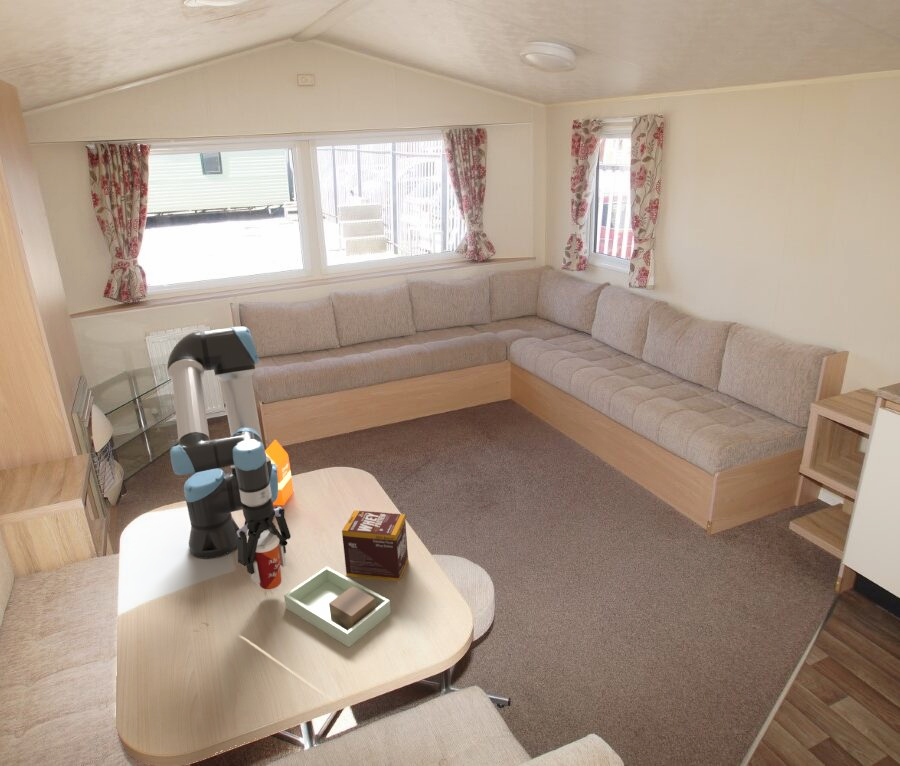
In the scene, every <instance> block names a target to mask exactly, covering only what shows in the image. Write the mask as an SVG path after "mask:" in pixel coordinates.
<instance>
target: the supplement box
mask: <svg viewBox="0 0 900 766" xmlns="http://www.w3.org/2000/svg"><path fill="white" fill-rule="evenodd" d="M341 535H342V544H343V554H344V564H345V572H346V573H345V574H346V576H345V577H349V578H350V577H352V578H360V579H361V578H362V579H373V580H380V581H381V580H383V581H390V582H391V581H392V582H400V580H401V577H403V575H404V572H405V570H406V567H407V565H408V562H409V553H408V539H407V538H408V536H407V523H406V514H405V513H392V512H381V511H379V512H378V511H370V510H369V511H368V510H367V511H366V510H354V511H353V513H352V514H351V515H350V517H349V519H348V521H347V522H346V524H345V525H344V527H343V528H342V530H341Z"/></svg>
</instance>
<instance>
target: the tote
mask: <svg viewBox="0 0 900 766" xmlns="http://www.w3.org/2000/svg"><path fill="white" fill-rule="evenodd" d="M352 586H353V587H355V588H357V589H359V590H361V591H363V592H364V593H366V594H368V595H370V596H372V597H374V598H375V605H376V609H374V610H373V611H372V612H370V613H369V614H368V615H367V616H365V617H364V618H363V619H362V620H360V621H359V622H358V623H357V624H355V625H354V626H353V627H352V628H350V629H349V630H348V631H347V630H346V629H344V628H342V627H341V626H339V625H337V624H336V623H334V622H332V621H331V614H330V607H329V603H330V602H331V601H333V600H334V599H335V598H337V597H338V596H340V595H341V594H342V593H344V592H345V591H346V590H348V589H349V588H350V587H352ZM283 598H284V603H285V609H287V610H288V611H290V612H292V613H293V614H295V615H297V616H298V617H299V618H301V619H303V620H304V621H306V622H307V623H309V624H310V625H312V626H314V627H316V628H317V629H319V630H321V631H322V632H324V633H325V634H327V635H329V636H330V637H332V638H334V639H335V640H336V641H338V642H340V643H341V644H343V645H345V646H346V647H347V648H350V647H352V646H353V645H354V644H355V643H357V642H358V641H359V640H360V639H361V638H362V637H364V636H365V635H366V634H368V633H369V632H370V631H371V630H372V629H374V627H376V626H377V625H379V624H380V623H381V622H382V621H384V619H386V618H387V617H388V616H389V615H391V613H392V611H391V600H390V599H388V598H386V597H385V596H383V595H381V594H379V593H377V592H375V591H373V590H371V589H370V588H368V587H366V586H364V585H362V584H361V583H358V582H357V581H355V580H353V579H351V578H350V577H348V576H345V575H343V574H342V573H340V572H338V571H336V570H334V569H332V568H330V567H329V566H325V567H324V568H322V569H320V571H318V572H316V573H315V574H313V575H312V576H310V577H309V578H308V579H306V580H304V581H303V582H301V583H300V584H299V585H297V586H295V587H294V588H292V589H291V590H290V591H288V592H287V593H285V594H284V595H283Z"/></svg>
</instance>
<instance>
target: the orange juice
mask: <svg viewBox="0 0 900 766" xmlns="http://www.w3.org/2000/svg"><path fill="white" fill-rule="evenodd" d="M265 453H266V456H268V457H269V458H270V459H271V464H272V463H274V464H276V465H277V474H278V498H277V500H276V501H275V502H273V506H285V504H286V503H287V501H288V500H289V499H290V498H291V496H292V495H293V493H294V487H293V486H294V485H293V480H292V471H291V464H290V459H289V454H288V453H287V451H286V450H285V449H284V448H283V446H282V445H281V444H280V443H279V442H278V440H276V439H274V440H273V441H272V443H270V445H269V446H268V447H267V448H266V449H265Z"/></svg>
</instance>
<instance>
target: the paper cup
mask: <svg viewBox="0 0 900 766" xmlns="http://www.w3.org/2000/svg"><path fill="white" fill-rule="evenodd" d="M279 542H280V540H279V538H278V537H277V535H274V534H273V533H271V532H270V531H263V532H262V533H261V535H260V538H259V539H258V543H257V548H256V551H255V552H256V553H255V559H254V561H256V562H257V566H258V571H259V577H260V583H259V586H260V588H261V589H263V590H265V591H266V590H274V589H276V588H278V587H279V586H280V585H281V584H282V572H281V571H282V569H281V565H280V555H279Z"/></svg>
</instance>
